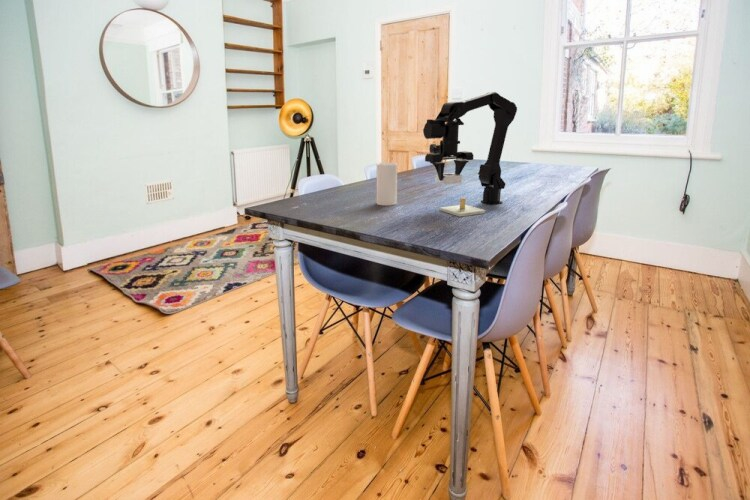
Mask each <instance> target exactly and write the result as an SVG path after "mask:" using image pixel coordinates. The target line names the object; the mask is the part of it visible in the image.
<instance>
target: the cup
mask: <svg viewBox="0 0 750 500" xmlns="http://www.w3.org/2000/svg"><path fill="white" fill-rule="evenodd" d="M376 204H377V205H379V206H395V205H397V204H398V163H396V162H378V163H376Z"/></svg>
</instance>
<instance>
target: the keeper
mask: <svg viewBox="0 0 750 500" xmlns="http://www.w3.org/2000/svg"><path fill="white" fill-rule="evenodd" d="M439 211H440V212H444V213H448V214H450V215H454V216H457V217H460V218H461V217H468V216H473V215H474V216H475V215H481V214H485V213H486V209H482V208H479V207H475V206H471V205H468V204H466V198H465V197H461V198H459V204H457V205H450V206H442V207H439Z"/></svg>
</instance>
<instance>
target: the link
mask: <svg viewBox="0 0 750 500" xmlns="http://www.w3.org/2000/svg"><path fill="white" fill-rule="evenodd" d="M462 179H463V178H462V174H460V175H459V174H455V172H454V173H453V172H446V173H445V172H443V178H442V181H440V180H439V177H438V174H437V173H435V182H436V183H439V184H443V185H455V184H462Z"/></svg>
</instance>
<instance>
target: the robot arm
mask: <svg viewBox="0 0 750 500" xmlns="http://www.w3.org/2000/svg"><path fill="white" fill-rule="evenodd" d="M485 106H488V108H489V109H490V110H491V111H493V121H494V123H495V124H494V129H493V133H492V138H491V142H490V145H489V151H488V154H487V158H486V161H485V163H484V164H480V165H479V169H478V170H479V171H478V173H477V175H478V180H479V182H480V185H481V187H483V193H482V200H480V202H481V203H484V204H488V205H497V204H502V203H503V200H501V194H502V193H501V191H502V190H503V189H505V187H506V182H505V181H504V180H503V178H502V177H501V175H502V168H501V165H500V161H501V157H502V153H503V149H504V145H505V141H506V137H507V133H508V128H509V126H510V125H511V124H512V122H513V121H514V120H515V117H516V114H517V111H518V107H517V104H515V102H513V101H510V100H509V99H507V98H505V97H503V96H501V95H500V94H499V93H498V92H496V91H492V92H489V91H488V92H485V94H481V95H478V96H475V97H471V98H468V99H465V100H463V101H462V100H461V101H451V102H445V103H443V104H442V106H441V108H440V109H441V110H440V111H439V113H438V115H437V116H436V118H435V119H427V120H426V123H425V124H424V127H423V129H422V130H423V131H422V132H423V136H424V138H425V139H426V140H429V139H430V140H432V139H433V140H434V139H442V140H440V141H439V144H438V145H437V144H435V143H432V144H429V153H426V155H425V156H424V157H425V158H424V162H427V163H430V164H431V165H433V166H434V167H435V170H436V174H438V177H439V180H440V181H442V178H443V173H445V167H446V166H445V164H446V162H443V160H445V161H446V160H453V162H454V165H455V168H454V174H459V175H461V173H462V171H463V170H464V168H465V167H466V165H467V163H469V162H470V161H474V153H473V152H471V151H465V150H464V151H458V150H459V145H460V144H461V140H459V131H460V130H459V129H460V128H459V126H464V125H465V123H464V122H463V121H462V120H461V118H462V117H463V116H465V115H466V114H467V113H468V112H470V111H473V110H476V109H480V108H483V107H485Z"/></svg>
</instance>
